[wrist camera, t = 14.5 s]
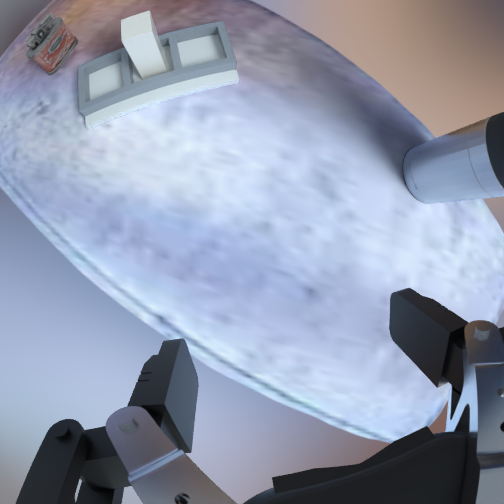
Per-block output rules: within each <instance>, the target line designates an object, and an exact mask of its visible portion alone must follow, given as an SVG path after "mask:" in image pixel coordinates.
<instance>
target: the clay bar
mask: <svg viewBox="0 0 504 504" xmlns="http://www.w3.org/2000/svg"><path fill="white" fill-rule="evenodd" d="M121 36H122V43H123V44H124V46H125V48H126V50H127V52H128V54H129V55H130V57H131V59H132V61H133V63H134V64H135V66H136V68H137V70H138V72H139V73H140V75H141V77H142V79H143V80H144V79H147V78H150V77H153V76H156V75H159V74H162V73H166V72H167V67H166V61H165V55H164V51H163V48H162V45H161V42H160V40H159V37H158V34H157V31H156V28H155V25H154V22H153V19H152V16H151V13H150V11H146V12H143V13H140V14H137V15H134V16H131V17H128V18H125V19H123V20H121Z"/></svg>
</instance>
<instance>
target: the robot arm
mask: <svg viewBox="0 0 504 504" xmlns="http://www.w3.org/2000/svg"><path fill="white" fill-rule="evenodd" d="M403 173H404V179H405V182H406V185H407V187H408V188H409V190H410V192H411V193H412V195H413V196H414V197H415V198H416V199H418V200H419V201H421V202H423V203H426V204H432V203H442V202H452V201H462V200H472V199H482V198H493V197H502V196H504V112H502V113H499V114H497V115H494V116H491V117H488V118H486V119H483V120H480V121H478V122H475V123H473V124H470V125H468V126H465V127H463V128H460V129H458V130H455V131H453V132H450V133H448V134H445V135H443V136H441V137H438V138H435V139H433V140H430V141H427V142H425V143H423V144H420V145H418V146H416V147H413V148H411V149H410V150H409V151H408V152H407V154H406V156H405V159H404V163H403ZM389 329H390V334H391V337H392V339H393V341H394V342H395V343H396V344H397V345H398V346H399V347H400V348H401V350H402V351H403V352H404V353H405V354H406V355H407V356H408V357H409V358H410V359H411V360H412V361H413V362H414V363H415V364H416V365H417V366H418V368H419V369H420V370H421V371H422V372H423V373H424V374H425V375H426V376H427V377H428V378H429V379H430V380H431V382H432V383H433V384H434V385H435V386H436V387H437V388H438V387H440V386H442V385H444V384H446V383H448V382H449V383H450V384H451V385H450V389H449V398H448V413H447V424H446V431H445V432H441V433H435V434H433V433H432V432H431V431H430V429H429V428H428V427H427V426H426V427H424V428H422V429H420V430H418V431H416V432H414V433H411V434H409V435H407V436H405V437H403V438H401V439H398V440H396V441H394V442H393V443H391V444H390V445H388V446H387V447H385V448H384V449H382V450H381V451H379V452H378V453H376V454H375V455H373V456H372V457H370V458H369V459H367V460H366V461H364V462H362V463H360V464H356V465H348V466H339V467H329V468H314V469H310V470H306V471H302V472H297V473H293V474H288V475H282V476H277V477H273V478H272V480H273V486H274V487H273V488H271V489H268V490H266V491H264V492H262V493H259V494H257V495H256V496H254V497H252V498H251V499H249V500H247V501H246V502H245V503H243V504H504V327H503V328H498V327H497V326H496V325H495V324H493V323H491V322H489V321H484V320H476V321H472V322H470V323H468V322H467V321H465V320H464V319H462V318H461V317H459V316H458V315H456V314H455V313H453V312H452V311H450V310H448V309H447V308H446V307H444V306H441V304H440V303H438V302H437V301H435V300H434V299H431V298H428V297H424V296H422V295H420V294H419V293H417V292H416V291H414V290H413V289H411V288H406V289H403V290H400V291H397V292H393V293H392V295H391V298H390V325H389ZM197 394H198V377H197V373H196V370H195V367H194V364H193V362H192V359H191V356H190V353H189V350H188V347H187V344H186V342H185V340H184V339H183V338H182V339H175V340H167V341H163V343H162V346H161V349H160V351H159V354H158V355H153V356H152V357H151V358H150V359H149V360H148V361H147V362H146V363H145V364H144V366H143V368H142V371H141V375H140V376H139V378H138V382H137V383H136V386H135V388H134V391H133V393H132V396H131V398H130V401H129V403H128V406H127V407H124V408H121V409H119V410H117V411H115V412H114V413H113V414H112V415H111V416H110V417H109V418H108V420H107V422H106V426H104V427H99V428H94V429H89V430H84V429H83V427H82V426H81V424H80V423H79V422H78V421H76V420H73V419H65V420H61V421H59V422H57V423H55V424H54V425H53V426H52V427H51V428H50V429H49V430H48V432H47V434H46V436H45V438H44V440H43V442H42V444H41V446H40V448H39V450H38V452H37V454H36V457H35V459H34V461H33V463H32V466H31V467H30V470H29V472H28V474H27V477H26V479H25V482H24V484H23V486H22V489H21V491H20V494H19V496H18V499H17V502H16V504H121V503H122V497H123V491H124V487H128V486H132V487H133V488H134V490H135V492H136V493H137V495H138V496H139V498H140V499H141V501H142V503H143V504H237V503H236V502H235V501H234V500H232V499H231V498H230V497H229V496H228V495H227V494H225V492H223V491H222V490H221V489H220V488H219V487H218V486H217V485H216V484H215V483H214V482H213V481H212V480H211V479H210V478H209V477H208V476H207V475H205V474H204V473H203V472H202V471H201V470H200V468H199V467H197V465H196V464H195V463H194V462H193V461H192V460H191V459H190V458H189V457H188V456H187V455H186V454H185V453H191V450H192V440H193V430H194V420H195V411H196V402H197ZM79 479H81V480H82V483H81V486H80V490H79V493H78V497H77V501H76V502H75V492H76V488H77V485H78V482H79Z"/></svg>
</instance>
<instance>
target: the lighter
mask: <svg viewBox="0 0 504 504" xmlns="http://www.w3.org/2000/svg"><path fill="white" fill-rule="evenodd" d="M77 43H78V39H77V38H76V37H74V36H73V35H72V33H71V32H70V31H69V30H68V28H67V27H66V26H65V24H64V23H63V20H62V19H61V17H57V18H55V19H54V16H53V15H52V14H48V15H47V16H46V17H45V18H44V19H43V20H42V22H41V23H40V25H39V26H38V27H37V28H34V29H33V30H32V31H31V36H30V37H29V39H28V40H27V41H26V43H25V44H26V45H27V46H28V47H30V48H29V50H28V52H27V56H28V57H29V58H30V59H31V58H32V59H33V60H34V61H35V62H36V63H37V64H39V65H40V66H41V67H42V68H43V69H44V70H46V73H47V74H49V75H53V74H55V73H56V72H57V71H58V70H59V69H60V67H61V66H62V65H63V64H64V62H65V61H66V60H67V59H68V57H69V56H70V54H71V53H72V51H73V50H74V48H75V47H76V45H77Z"/></svg>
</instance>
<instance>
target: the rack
mask: <svg viewBox="0 0 504 504" xmlns="http://www.w3.org/2000/svg"><path fill="white" fill-rule="evenodd" d="M158 37H159V40H160V42H161V45H162V48H163V51H164V55H165V61H166V67H167V72H166V73H162V74H159V75H156V76H153V77H150V78H147V79H144V80H143V79H142V77H141V75H140V73H139V72H138V70H137V68H136V66H135V64H134V63H133V61H132V59H131V57H130V55H129V54H128V52H127V50H126V48H125V47H123V48H120V49H118V50H115V51H113V52H110V53H108V54H105V55H103V56H101V57H98V58H96V59H94V60H92V61H90V62H87V63H85V64H83V65H81V66H79V67H78V100H79V112H80V113H81V114H83V115H84V116H85V123H86V127H87V128H88V129H91V128H94V127H96V126H98V125H101V124H103V123H106V122H108V121H110V120H113V119H116V118H118V117H121V116H123V115H126V114H129V113H131V112H134V111H137V110H140V109H143V108H146V107H149V106H152V105H155V104H158V103H161V102H165V101H168V100H171V99H175V98H178V97H182V96H185V95H189V94H193V93H197V92H201V91H205V90H209V89H214V88H218V87H223V86H228V85H233V84H238V83H239V77H238V74H237V70H236V65H237V61H236V58H235V55H234V52H233V49H232V46H231V43H230V40H229V37H228V34H227V31H226V28H225V25H224V22H223V21H219V22H213V23H208V24H203V25H198V26H193V27H189V28H185V29H181V30H177V31H173V32H169V33H166V34H162V35H159V36H158Z"/></svg>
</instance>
